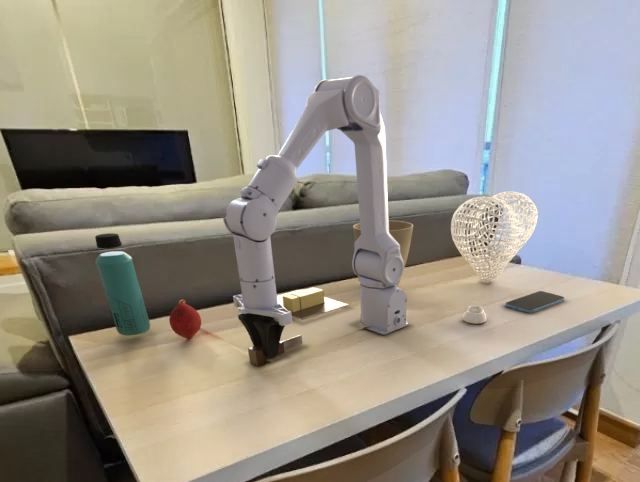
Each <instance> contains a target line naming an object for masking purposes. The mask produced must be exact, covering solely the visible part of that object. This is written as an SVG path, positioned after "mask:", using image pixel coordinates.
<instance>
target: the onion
mask: <svg viewBox="0 0 640 482" xmlns="http://www.w3.org/2000/svg"><path fill="white" fill-rule="evenodd" d="M168 319H169V325H170V327H171V330H172V331H173V332H174V334H176V335H178V336H179V337H181V338H184V339H187V340H191V339H193V338H194V336H196V334H197V333H198V332H200V329H201V326H202V317H201V315H200V313H199V312H198V311H197V310H196V309H195V307H193V306H191V305H189V304H187V303H186V300H185V299H180V300H179V301H178V302H177V305H176V306H175V307H174V308H173V309H172V311H171V312H170V314H169V318H168Z"/></svg>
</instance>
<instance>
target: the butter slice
mask: <svg viewBox="0 0 640 482" xmlns="http://www.w3.org/2000/svg"><path fill="white" fill-rule="evenodd" d="M282 297H283V306H284V308H285V309H286V310H289V311H292V312H295V311H299V310H300V301H299V297H297V296H294V295H291V294H287V295H284V296H282Z"/></svg>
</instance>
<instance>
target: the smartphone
mask: <svg viewBox="0 0 640 482" xmlns="http://www.w3.org/2000/svg"><path fill="white" fill-rule="evenodd" d="M563 301H565V297H564V296H563V295H559V294H554V293H551V292H546V291H543V290H538V291H535V292H533V293H530V294H527V295H524V296H521V297H518V298H516V299H512V300H509V301H506V302H505V303H504V306H505V307H507V308H511V309H513V310H517V311H520V312H523V313H528V314H531V313H535V312H537V311H540V310H543V309H545V308H548V307H550V306H554V305H556V304H558V303H561V302H563Z"/></svg>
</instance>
